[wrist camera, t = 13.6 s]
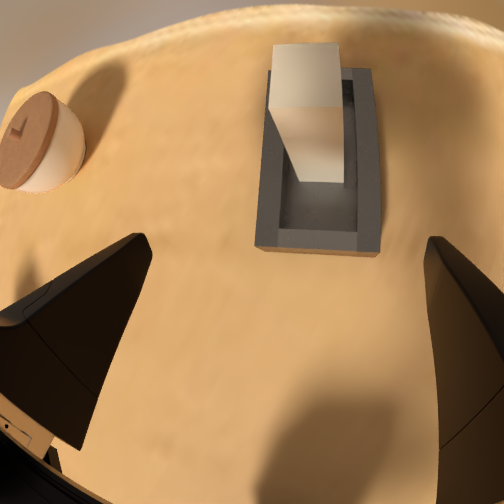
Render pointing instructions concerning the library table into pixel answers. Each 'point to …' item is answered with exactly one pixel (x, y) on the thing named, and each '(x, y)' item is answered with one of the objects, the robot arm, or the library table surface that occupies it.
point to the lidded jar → (41, 146)
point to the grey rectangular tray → (325, 186)
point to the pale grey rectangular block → (309, 108)
